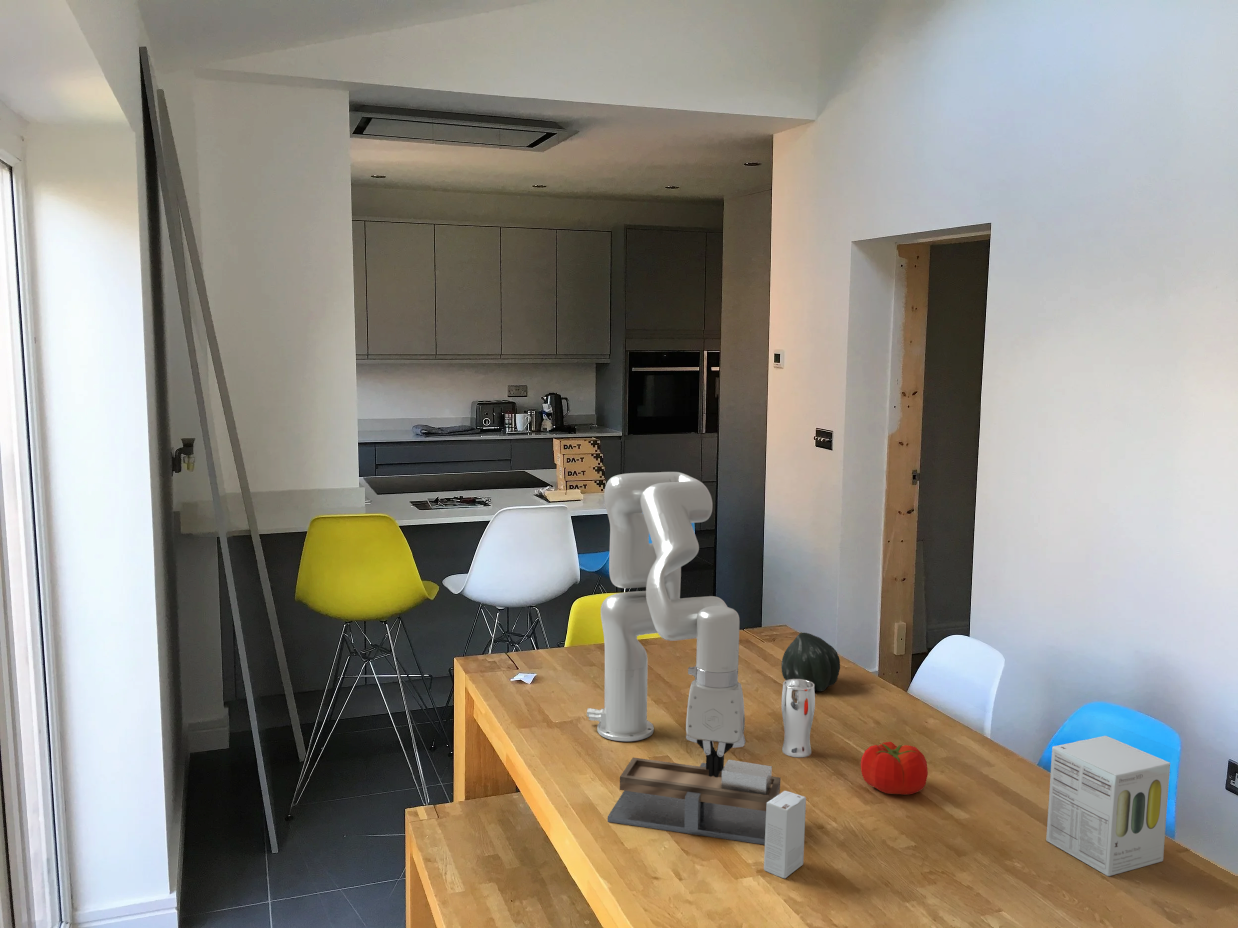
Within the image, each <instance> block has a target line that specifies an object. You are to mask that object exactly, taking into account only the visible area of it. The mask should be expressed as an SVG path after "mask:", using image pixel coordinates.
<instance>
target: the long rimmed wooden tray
mask: <svg viewBox="0 0 1238 928" xmlns="http://www.w3.org/2000/svg"><path fill="white" fill-rule="evenodd" d="M721 784H722V772H721V771H720V773H719V776H718V778H717V777H715V776H714V775H713V776H712V777H710V776H709V770H706V767H700V765H699V766H698V765H690V764H683V763H676V762H670V761H661V760H654V759H648V758H639V757H632V758H631V760H630V761H629V762H628V764H627V765H626V767H625V769H624V770H623V771H622V773H621V775H619V791H623V792H624V791H631V792H638V793H644V794H651V795H658V796H665V797H672V798H679V799H685V796H686V794H687V792H694V793H701V802H706V803H713V804H720V805H727V806H733V807H740V808H747V809H754V810H761V811H766V805H767V802H768V801H770V800H771V799H773V798H774V797H776V796H777V795H779V794H780V793H781V777H779V776H772V775H771V789H770V791H769V793H768V795H763V794H756V793H748V792H741V791H734V790H727V789H721Z"/></svg>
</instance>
